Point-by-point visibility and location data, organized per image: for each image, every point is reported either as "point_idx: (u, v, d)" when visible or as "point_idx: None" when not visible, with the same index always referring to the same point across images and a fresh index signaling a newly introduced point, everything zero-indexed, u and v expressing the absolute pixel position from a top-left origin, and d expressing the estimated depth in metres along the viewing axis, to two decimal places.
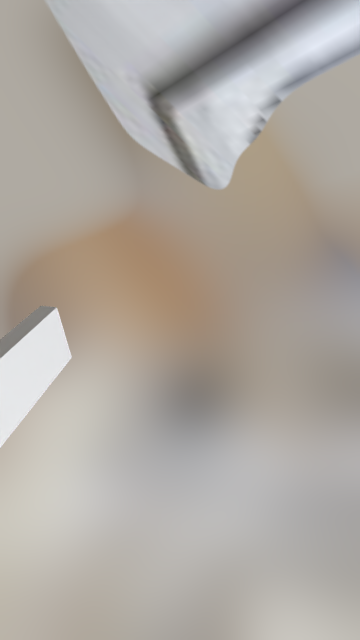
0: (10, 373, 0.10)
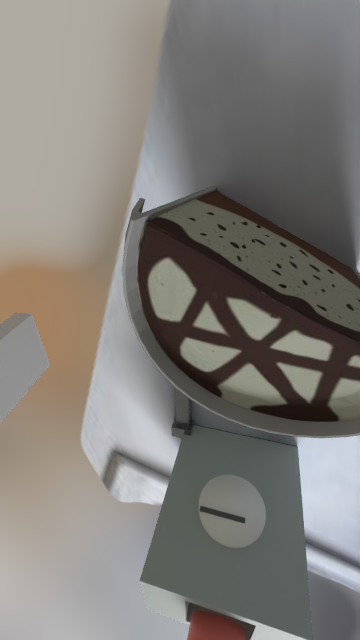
0: None
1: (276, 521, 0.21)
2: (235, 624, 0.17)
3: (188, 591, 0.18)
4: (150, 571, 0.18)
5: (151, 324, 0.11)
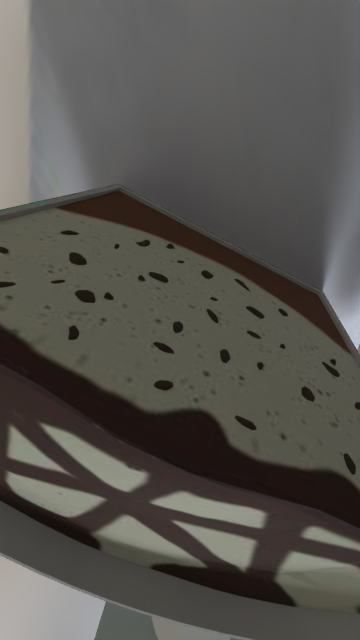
0: None
1: None
2: None
3: None
4: None
5: None
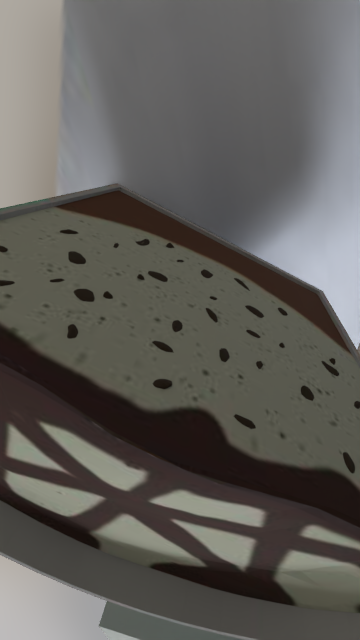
0: None
1: None
2: None
3: (161, 637, 0.13)
4: (113, 611, 0.14)
5: None
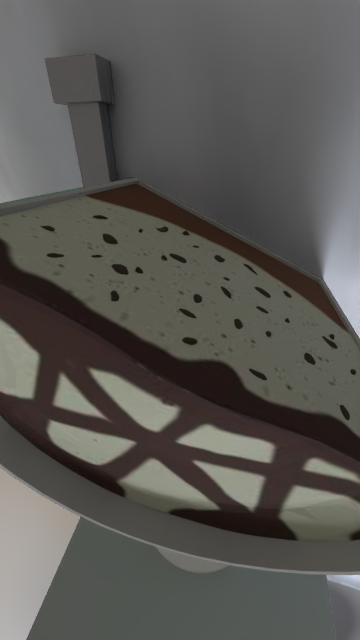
0: None
1: None
2: None
3: None
4: (44, 631, 0.10)
5: None
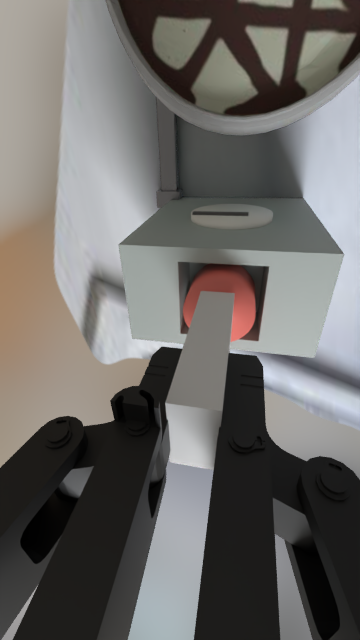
0: None
1: (286, 219, 0.17)
2: (243, 268, 0.15)
3: (181, 245, 0.14)
4: (132, 241, 0.14)
5: (122, 4, 0.12)
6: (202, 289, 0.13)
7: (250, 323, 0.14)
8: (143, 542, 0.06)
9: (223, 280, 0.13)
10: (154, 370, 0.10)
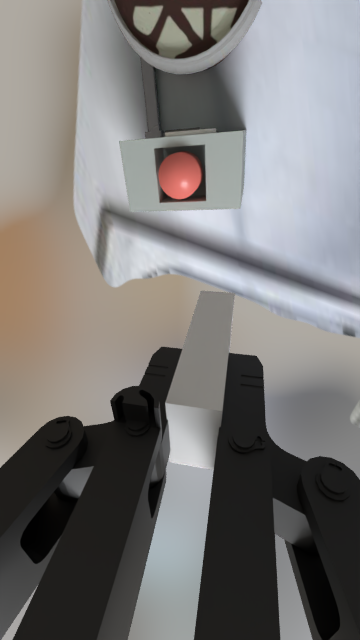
0: None
1: None
2: (194, 154, 0.25)
3: None
4: (127, 140, 0.24)
5: (116, 1, 0.22)
6: (167, 160, 0.23)
7: (197, 181, 0.24)
8: (143, 542, 0.06)
9: (178, 152, 0.23)
10: (154, 370, 0.10)
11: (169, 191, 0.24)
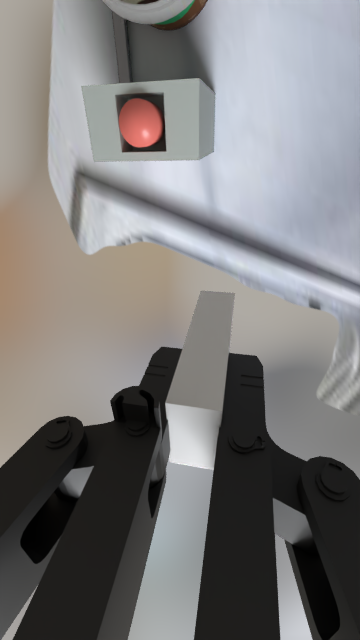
0: None
1: None
2: (155, 104, 0.25)
3: None
4: None
5: None
6: (127, 106, 0.24)
7: (156, 128, 0.24)
8: (143, 542, 0.06)
9: (137, 98, 0.23)
10: (154, 370, 0.10)
11: (129, 139, 0.25)
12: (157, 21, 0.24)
